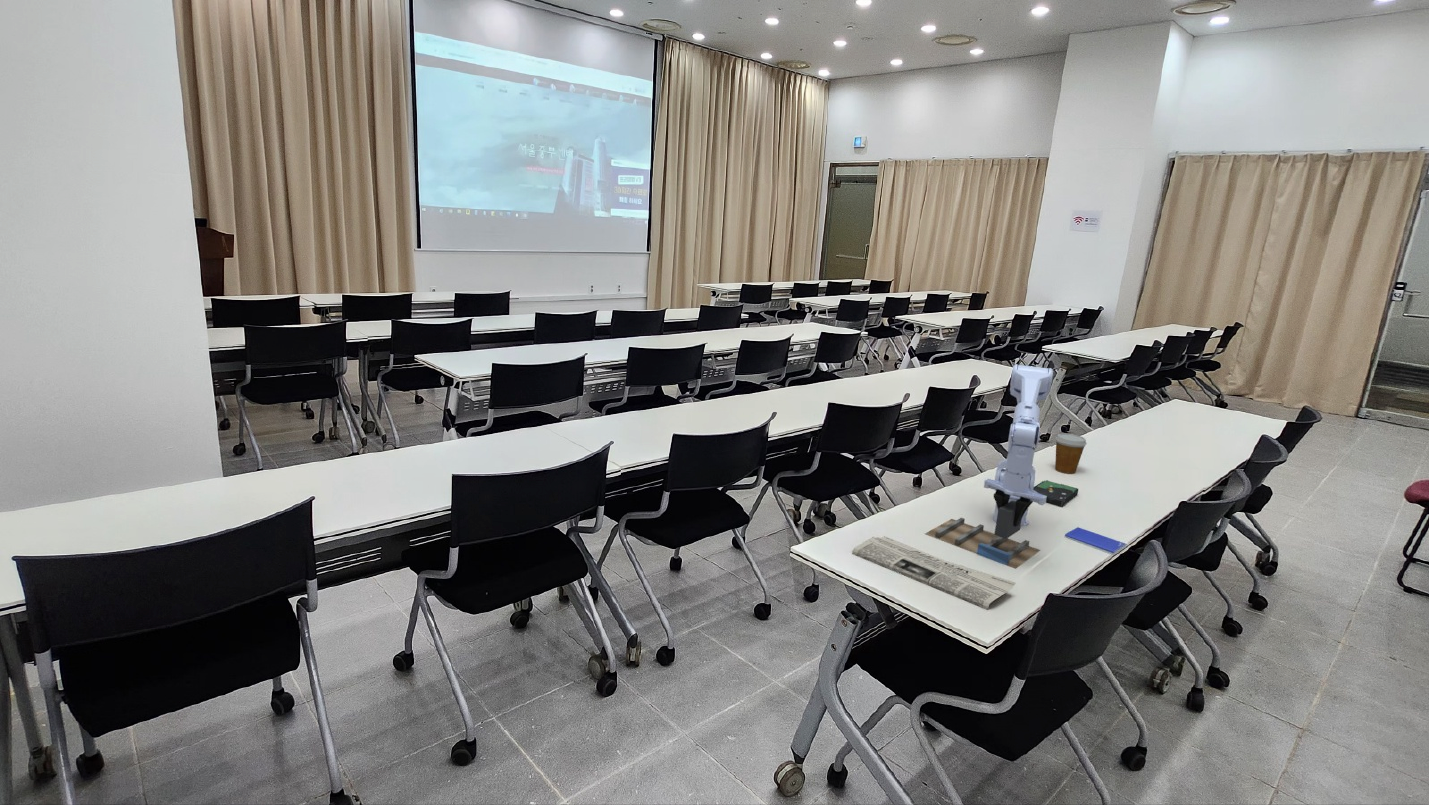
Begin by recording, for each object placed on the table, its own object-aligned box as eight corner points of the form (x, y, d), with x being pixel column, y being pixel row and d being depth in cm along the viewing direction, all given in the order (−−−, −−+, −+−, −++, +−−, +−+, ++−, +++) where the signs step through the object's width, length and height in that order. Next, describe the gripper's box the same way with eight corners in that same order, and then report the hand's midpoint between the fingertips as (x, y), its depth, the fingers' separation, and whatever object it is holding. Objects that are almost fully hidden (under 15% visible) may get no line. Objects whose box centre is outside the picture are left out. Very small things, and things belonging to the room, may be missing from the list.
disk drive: (1062, 509, 207) (1077, 496, 218) (1063, 501, 206) (1079, 487, 217) (1026, 499, 214) (1043, 486, 224) (1027, 490, 213) (1044, 478, 224)
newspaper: (851, 555, 172) (853, 542, 171) (878, 540, 181) (880, 528, 180) (993, 614, 149) (996, 600, 148) (1016, 594, 157) (1018, 580, 157)
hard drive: (1127, 543, 183) (1078, 526, 192) (1114, 551, 178) (1064, 533, 187) (1125, 548, 183) (1077, 531, 192) (1113, 557, 178) (1063, 539, 187)
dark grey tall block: (1007, 526, 178) (1012, 500, 176) (1019, 530, 176) (1024, 504, 174) (994, 534, 173) (998, 508, 171) (1006, 539, 170) (1010, 512, 169)
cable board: (951, 521, 193) (953, 510, 192) (1039, 553, 177) (1042, 541, 176) (923, 536, 183) (925, 525, 182) (1015, 571, 167) (1017, 559, 166)
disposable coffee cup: (1057, 464, 246) (1063, 431, 243) (1085, 472, 239) (1092, 438, 235) (1044, 469, 240) (1050, 435, 237) (1072, 477, 233) (1079, 443, 230)
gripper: (981, 466, 172) (973, 517, 176) (1042, 483, 163) (1032, 537, 166) (994, 460, 177) (986, 510, 181) (1053, 476, 167) (1043, 529, 171)
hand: (1009, 522), depth 174 cm, fingers closed on dark grey tall block, 3 cm apart
